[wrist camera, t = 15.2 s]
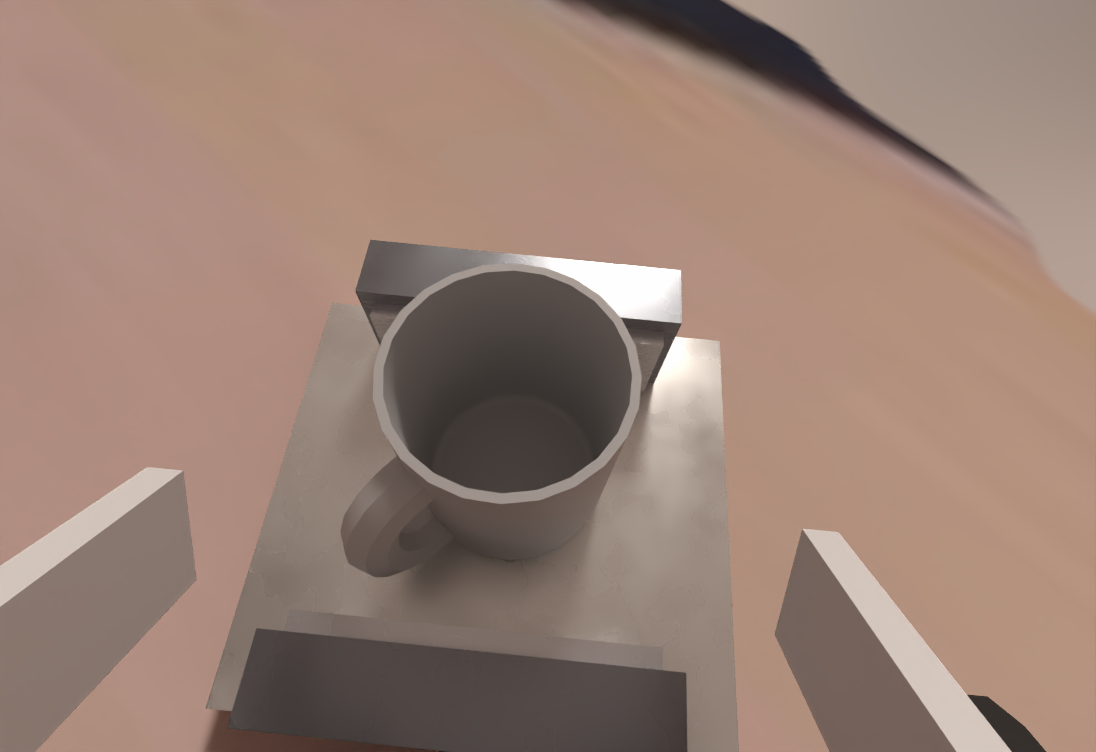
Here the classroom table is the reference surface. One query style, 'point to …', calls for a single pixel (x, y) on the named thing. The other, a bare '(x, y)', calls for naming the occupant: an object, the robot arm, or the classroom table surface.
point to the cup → (494, 418)
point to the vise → (498, 565)
